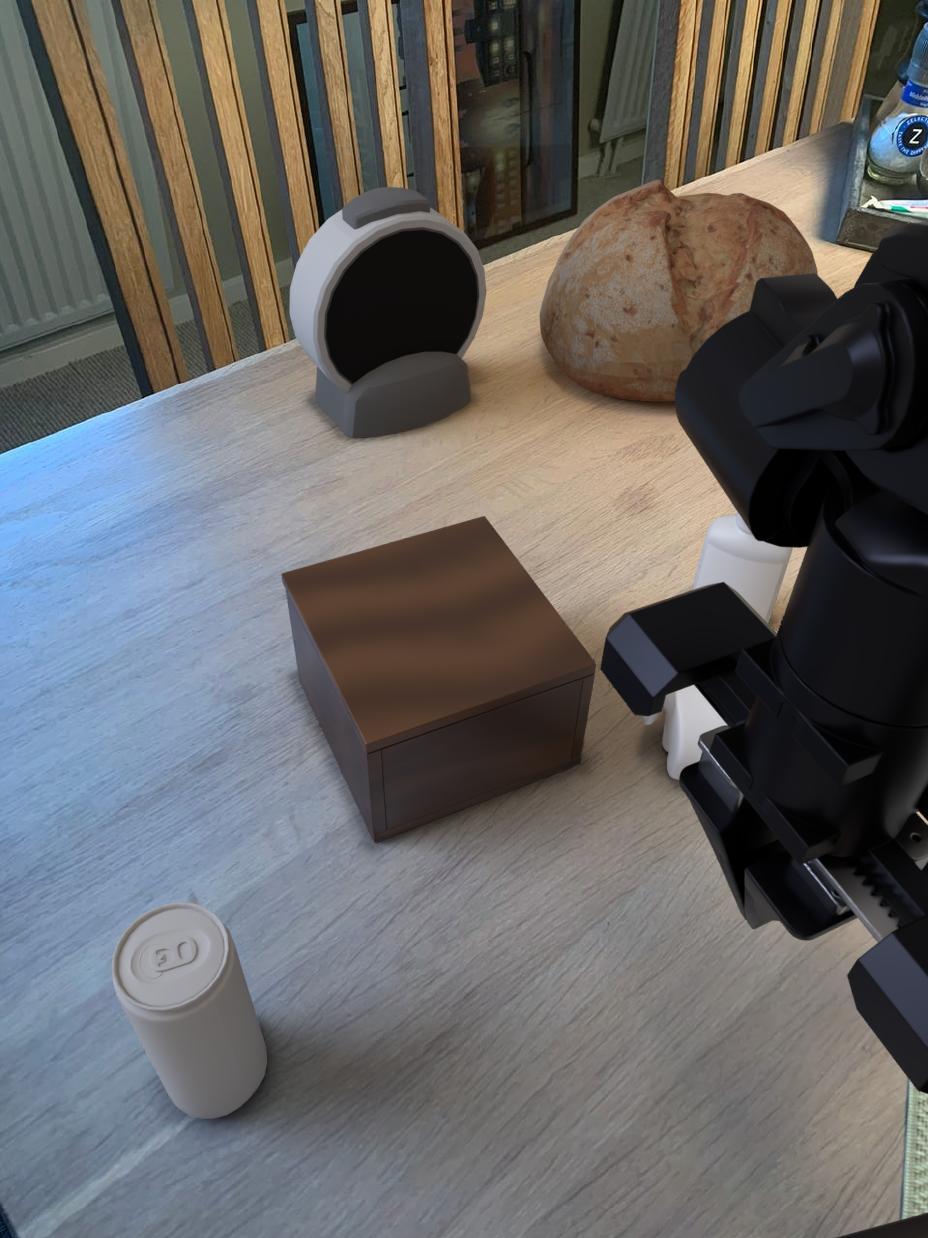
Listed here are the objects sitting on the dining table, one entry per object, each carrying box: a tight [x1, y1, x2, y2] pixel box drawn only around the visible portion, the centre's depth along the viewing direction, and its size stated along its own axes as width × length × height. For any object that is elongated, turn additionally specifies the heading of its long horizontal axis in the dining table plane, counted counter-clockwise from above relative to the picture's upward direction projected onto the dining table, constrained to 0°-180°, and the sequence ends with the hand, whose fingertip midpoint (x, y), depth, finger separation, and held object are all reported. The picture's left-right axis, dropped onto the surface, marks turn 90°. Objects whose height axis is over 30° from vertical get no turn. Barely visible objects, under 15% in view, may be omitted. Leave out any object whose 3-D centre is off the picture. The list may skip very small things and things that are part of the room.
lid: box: [280, 515, 597, 753], centre depth 57 cm, size 14×14×1 cm
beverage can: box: [111, 901, 268, 1120], centre depth 44 cm, size 5×5×12 cm
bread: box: [538, 179, 819, 402], centre depth 91 cm, size 26×23×15 cm
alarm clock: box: [289, 186, 487, 439], centre depth 83 cm, size 16×10×18 cm, turn 121°
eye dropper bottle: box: [691, 512, 794, 624], centre depth 66 cm, size 4×6×12 cm
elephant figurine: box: [641, 685, 728, 781], centre depth 60 cm, size 7×8×6 cm
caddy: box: [285, 590, 596, 844], centre depth 60 cm, size 14×14×8 cm
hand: (757, 917), depth 40 cm, fingers closed
